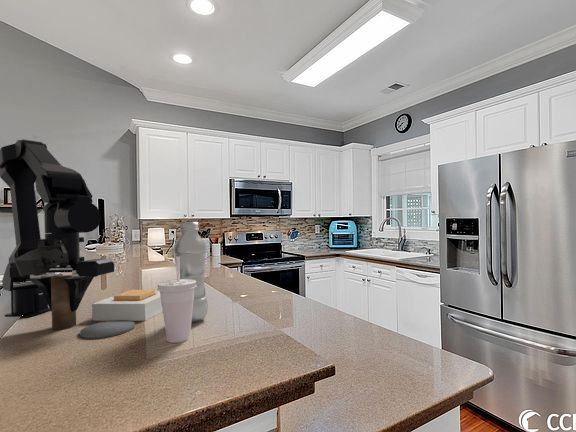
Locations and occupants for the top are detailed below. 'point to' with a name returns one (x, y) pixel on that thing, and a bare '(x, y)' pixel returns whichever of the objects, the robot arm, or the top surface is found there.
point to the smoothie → (177, 306)
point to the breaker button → (134, 295)
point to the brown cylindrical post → (61, 304)
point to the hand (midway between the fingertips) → (64, 311)
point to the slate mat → (107, 329)
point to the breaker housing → (127, 309)
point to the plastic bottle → (193, 265)
